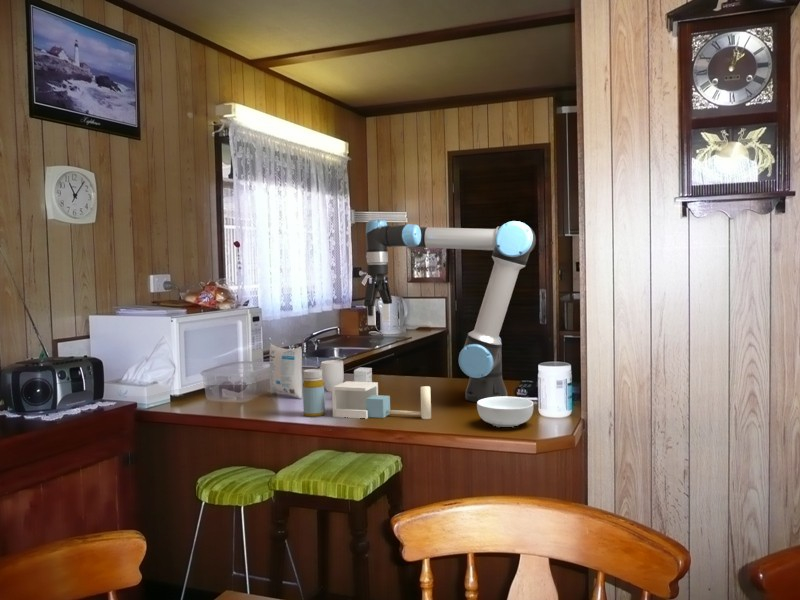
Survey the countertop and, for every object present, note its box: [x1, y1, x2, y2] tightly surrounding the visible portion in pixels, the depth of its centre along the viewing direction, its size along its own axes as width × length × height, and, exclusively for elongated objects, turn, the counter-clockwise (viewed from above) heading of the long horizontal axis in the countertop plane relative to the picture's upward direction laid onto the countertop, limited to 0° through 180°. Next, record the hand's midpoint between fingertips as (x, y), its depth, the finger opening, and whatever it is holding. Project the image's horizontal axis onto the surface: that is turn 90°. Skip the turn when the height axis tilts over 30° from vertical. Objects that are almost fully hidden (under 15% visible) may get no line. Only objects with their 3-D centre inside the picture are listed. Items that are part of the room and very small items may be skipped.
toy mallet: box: [366, 385, 432, 420], centre depth 207 cm, size 21×6×10 cm, turn 70°
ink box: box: [353, 367, 373, 382], centre depth 234 cm, size 9×5×12 cm, turn 168°
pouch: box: [269, 343, 303, 400], centre depth 246 cm, size 8×19×20 cm, turn 44°
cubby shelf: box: [331, 380, 379, 420], centre depth 212 cm, size 12×10×10 cm
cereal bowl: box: [476, 395, 534, 428], centre depth 193 cm, size 17×17×7 cm
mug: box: [318, 359, 345, 393], centre depth 255 cm, size 12×9×12 cm
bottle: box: [302, 368, 326, 418], centre depth 213 cm, size 7×7×15 cm
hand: (379, 323), depth 228 cm, fingers open, 13 cm apart
